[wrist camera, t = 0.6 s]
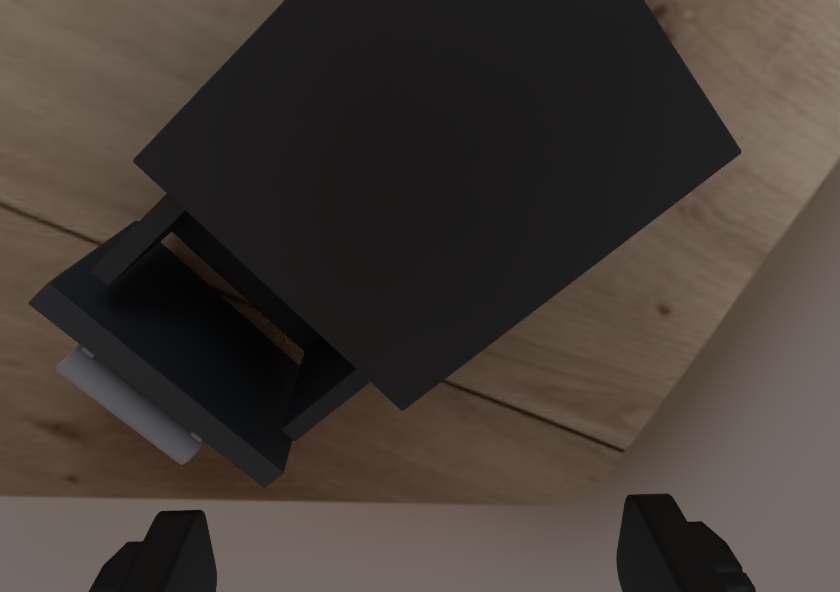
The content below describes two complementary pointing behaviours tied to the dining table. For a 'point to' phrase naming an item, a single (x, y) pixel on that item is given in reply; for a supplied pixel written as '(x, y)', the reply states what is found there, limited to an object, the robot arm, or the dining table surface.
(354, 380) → the drawer
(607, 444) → the dining table surface
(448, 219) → the cabinet
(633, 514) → the robot arm
